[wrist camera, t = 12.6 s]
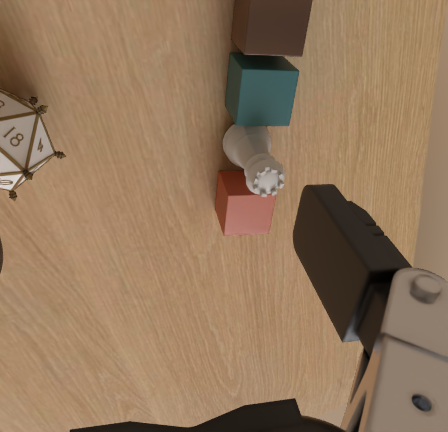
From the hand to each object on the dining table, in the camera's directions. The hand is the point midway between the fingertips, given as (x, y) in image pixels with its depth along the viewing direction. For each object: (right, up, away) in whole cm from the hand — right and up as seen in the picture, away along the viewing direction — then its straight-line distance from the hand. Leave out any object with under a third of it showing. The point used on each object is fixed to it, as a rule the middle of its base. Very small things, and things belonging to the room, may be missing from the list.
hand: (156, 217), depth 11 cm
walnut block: (+5, +16, +22) cm, 28 cm away
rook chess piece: (+4, +7, +29) cm, 30 cm away
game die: (-16, +8, +23) cm, 29 cm away
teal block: (+4, +12, +25) cm, 28 cm away
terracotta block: (+3, +3, +32) cm, 32 cm away
